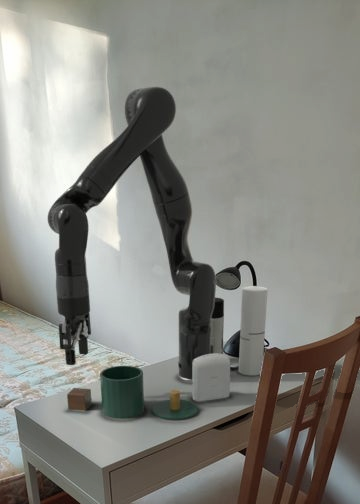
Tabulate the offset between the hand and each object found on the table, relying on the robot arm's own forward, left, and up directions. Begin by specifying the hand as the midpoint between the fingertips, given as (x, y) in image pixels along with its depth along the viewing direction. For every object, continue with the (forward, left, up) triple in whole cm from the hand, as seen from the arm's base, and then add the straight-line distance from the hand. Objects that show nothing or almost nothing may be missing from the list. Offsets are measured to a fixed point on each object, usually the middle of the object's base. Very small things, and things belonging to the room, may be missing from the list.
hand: (77, 359), depth 131 cm
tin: (-6, +9, -13) cm, 17 cm away
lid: (-15, +19, -13) cm, 27 cm away
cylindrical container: (-52, +13, -13) cm, 55 cm away
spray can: (-50, -1, -13) cm, 52 cm away
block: (0, 0, -13) cm, 13 cm away
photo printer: (-28, +19, -13) cm, 36 cm away
